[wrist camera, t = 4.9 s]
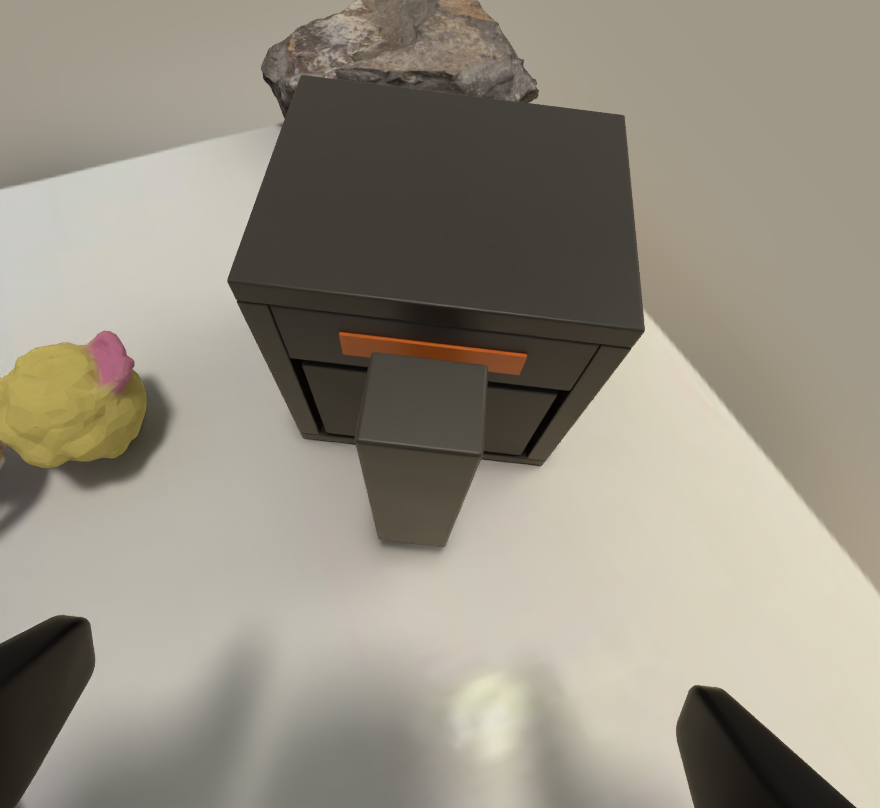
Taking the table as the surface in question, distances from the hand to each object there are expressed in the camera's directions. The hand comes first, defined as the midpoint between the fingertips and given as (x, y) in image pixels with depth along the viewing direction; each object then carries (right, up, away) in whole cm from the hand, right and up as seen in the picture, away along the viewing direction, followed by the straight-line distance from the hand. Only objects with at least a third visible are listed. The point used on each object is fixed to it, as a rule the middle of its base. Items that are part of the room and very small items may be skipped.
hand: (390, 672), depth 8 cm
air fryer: (0, +6, +15) cm, 16 cm away
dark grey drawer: (0, +4, +13) cm, 14 cm away
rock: (-1, +18, +22) cm, 29 cm away
